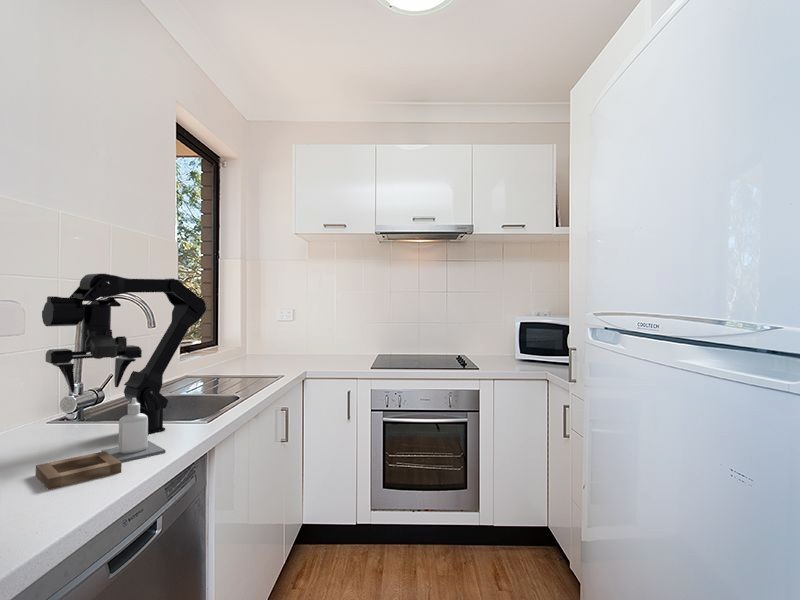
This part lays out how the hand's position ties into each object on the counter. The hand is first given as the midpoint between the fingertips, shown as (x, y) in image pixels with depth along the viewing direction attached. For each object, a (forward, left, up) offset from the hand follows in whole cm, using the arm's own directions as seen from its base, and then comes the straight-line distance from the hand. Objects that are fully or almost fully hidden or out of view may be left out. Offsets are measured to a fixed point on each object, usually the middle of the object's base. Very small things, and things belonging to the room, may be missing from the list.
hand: (95, 389), depth 110 cm
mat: (-4, +14, -13) cm, 20 cm away
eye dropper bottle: (-4, +14, -13) cm, 20 cm away
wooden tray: (+8, +20, -13) cm, 25 cm away
